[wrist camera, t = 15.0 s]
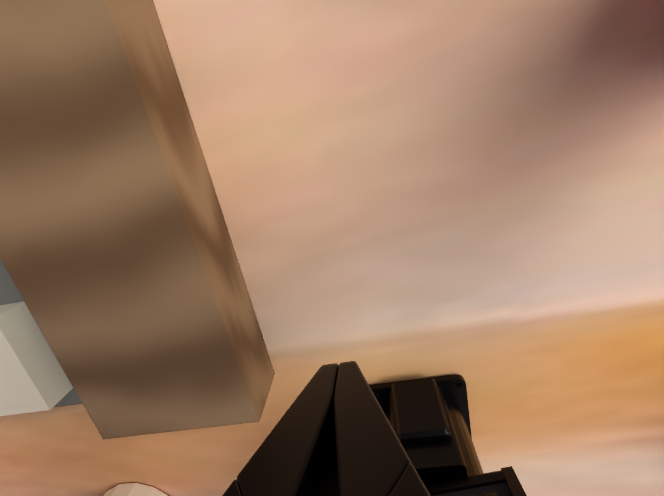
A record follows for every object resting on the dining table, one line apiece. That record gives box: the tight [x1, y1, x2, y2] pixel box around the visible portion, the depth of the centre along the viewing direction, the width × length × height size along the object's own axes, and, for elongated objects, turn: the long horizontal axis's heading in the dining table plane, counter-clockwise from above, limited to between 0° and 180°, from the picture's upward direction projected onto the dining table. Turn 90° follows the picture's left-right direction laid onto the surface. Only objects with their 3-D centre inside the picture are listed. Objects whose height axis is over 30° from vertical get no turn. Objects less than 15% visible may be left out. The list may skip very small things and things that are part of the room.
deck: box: [0, 0, 275, 439], centre depth 19 cm, size 22×10×4 cm, turn 12°
